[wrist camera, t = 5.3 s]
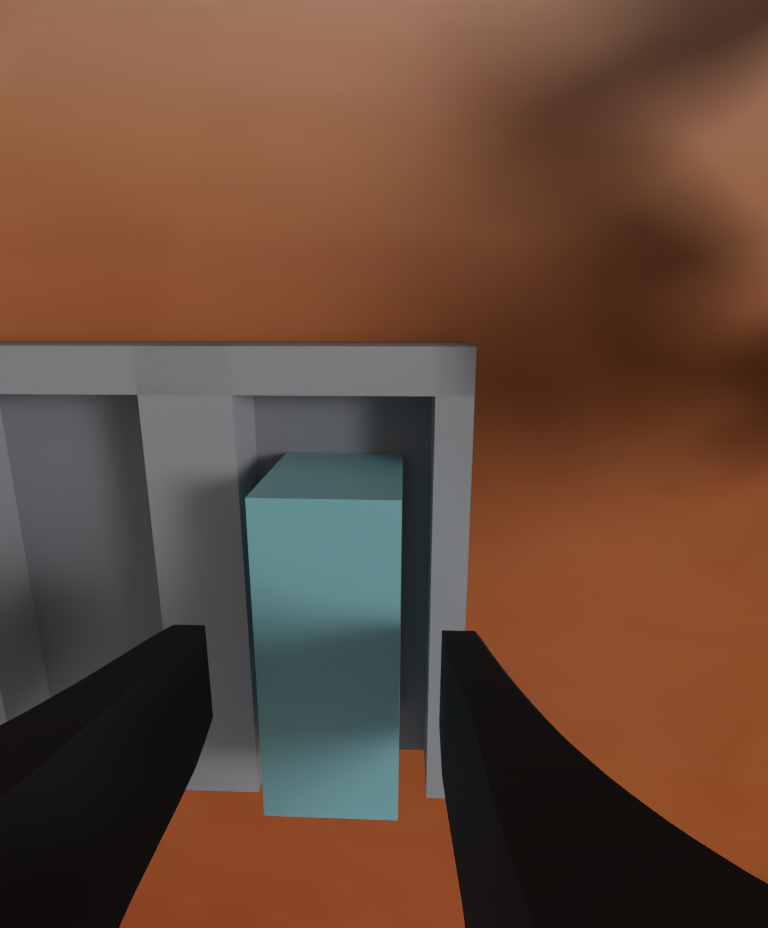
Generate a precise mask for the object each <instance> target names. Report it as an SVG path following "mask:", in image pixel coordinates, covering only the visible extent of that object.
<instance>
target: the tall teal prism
mask: <svg viewBox="0 0 768 928" xmlns="http://www.w3.org/2000/svg"><path fill="white" fill-rule="evenodd" d="M402 487H403V454H394V453H315V452H287V453H286V454H285V455H284V456H283V457H282V458H281V459H280V460H279V461H278V462H277V464H276V465H275V466H274V467H273V468H272V469H271V470H270V471H269V472H268V473H267V474H266V476H265V477H264V478H263V479H262V480H261V481H260V482H259V483H258V484H257V485H256V486H255V488H254V489H253V490H252V491H251V492H250V493H249V494H248V495H247V496H246V497H245V506H246V522H247V538H248V555H249V571H250V587H251V604H252V620H253V636H254V653H255V669H256V686H257V702H258V718H259V735H260V751H261V767H262V784H263V800H264V815H266V816H292V817H319V818H346V819H373V820H398V775H399V720H400V647H401V567H402Z"/></svg>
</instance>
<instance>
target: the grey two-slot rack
mask: <svg viewBox="0 0 768 928" xmlns="http://www.w3.org/2000/svg"><path fill="white" fill-rule="evenodd" d="M476 355H477V346H474V345H471V344H468V343H466V342H90V341H0V725H1V724H3V723H5V722H7V721H9V720H11V719H13V718H15V717H17V716H19V715H21V714H22V713H24V712H26V711H28V710H30V709H31V708H33V707H35V706H37V705H38V704H40V703H42V702H44V701H45V700H47V699H49V698H51V697H52V696H54V695H56V694H58V693H59V692H61V691H63V690H65V689H66V688H68V687H70V686H72V685H74V684H75V683H77V682H79V681H80V680H82V679H84V678H85V677H87V676H89V675H90V674H92V673H94V672H95V671H97V670H98V669H100V668H102V667H103V666H105V665H107V664H108V663H110V662H111V661H113V660H115V659H116V658H118V657H120V656H121V655H123V654H124V653H126V652H128V651H129V650H131V649H132V648H134V647H136V646H137V645H139V644H140V643H142V642H144V641H145V640H147V639H149V638H150V637H152V636H154V635H155V634H157V633H159V632H161V631H162V630H164V629H166V628H168V627H170V626H172V625H205V631H206V642H207V654H208V665H209V676H210V687H211V699H212V710H213V719H212V722H211V725H210V728H209V731H208V734H207V737H206V740H205V743H204V746H203V749H202V752H201V755H200V757H199V760H198V763H197V766H196V768H195V771H194V773H193V775H192V777H191V779H190V781H189V783H188V785H187V787H186V789H185V790H207V791H237V792H259V790H260V787H261V784H262V767H261V751H260V735H259V718H258V702H257V686H256V669H255V653H254V636H253V620H252V604H251V587H250V571H249V555H248V538H247V522H246V506H245V497H246V496H247V495H248V494H249V493H250V492H251V491H252V490H253V489H254V488H255V486H256V485H257V484H258V483H259V482H260V481H261V480H262V479H263V478H264V477H265V476H266V474H267V473H268V472H269V471H270V470H271V469H272V468H273V467H274V466H275V465H276V464H277V462H278V461H279V460H280V459H281V458H282V457H283V456H284V455H285V454H286V453H287V452H315V453H394V454H403V487H402V567H401V647H400V720H399V749H412V750H424V759H425V784H426V798H445V793H444V786H443V780H442V768H441V750H440V731H439V711H440V677H441V643H442V630H450V631H465V624H466V599H467V575H468V550H469V526H470V501H471V477H472V453H473V428H474V404H475V379H476Z"/></svg>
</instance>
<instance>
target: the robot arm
mask: <svg viewBox="0 0 768 928" xmlns="http://www.w3.org/2000/svg"><path fill="white" fill-rule="evenodd" d="M212 719H213V710H212V699H211V687H210V676H209V665H208V654H207V642H206V631H205V625H172V626H170V627H168V628H166V629H164V630H162V631H161V632H159V633H157V634H155V635H154V636H152V637H150V638H149V639H147V640H145V641H144V642H142V643H140V644H139V645H137V646H136V647H134V648H132V649H131V650H129V651H128V652H126V653H124V654H123V655H121V656H120V657H118V658H116V659H115V660H113V661H111V662H110V663H108V664H107V665H105V666H103V667H102V668H100V669H98V670H97V671H95V672H94V673H92V674H90V675H89V676H87V677H85V678H84V679H82V680H80V681H79V682H77V683H75V684H74V685H72V686H70V687H68V688H66V689H65V690H63V691H61V692H59V693H58V694H56V695H54V696H52V697H51V698H49V699H47V700H45V701H44V702H42V703H40V704H38V705H37V706H35V707H33V708H31V709H30V710H28V711H26V712H24V713H22V714H21V715H19V716H17V717H15V718H13V719H11V720H9V721H7V722H5V723H3V724H1V725H0V928H119V926H120V924H121V922H122V919H123V917H124V915H125V913H126V911H127V908H128V906H129V904H130V902H131V899H132V897H133V895H134V893H135V891H136V889H137V887H138V885H139V883H140V881H141V879H142V877H143V875H144V873H145V871H146V869H147V867H148V865H149V863H150V861H151V859H152V857H153V855H154V853H155V851H156V848H157V846H158V844H159V842H160V840H161V838H162V836H163V834H164V832H165V830H166V828H167V826H168V824H169V822H170V820H171V818H172V816H173V814H174V812H175V810H176V808H177V806H178V804H179V802H180V800H181V798H182V796H183V794H184V792H185V789H186V787H187V785H188V783H189V781H190V779H191V777H192V775H193V773H194V771H195V768H196V766H197V763H198V760H199V757H200V755H201V752H202V749H203V746H204V743H205V740H206V737H207V734H208V731H209V728H210V725H211V722H212ZM439 731H440V750H441V768H442V780H443V786H444V793H445V799H446V806H447V812H448V818H449V825H450V831H451V837H452V843H453V850H454V856H455V862H456V868H457V874H458V881H459V887H460V893H461V899H462V906H463V913H464V921H465V928H768V884H767V883H765V882H764V881H762V880H760V879H758V878H756V877H754V876H753V875H751V874H749V873H748V872H746V871H744V870H743V869H741V868H739V867H738V866H736V865H735V864H733V863H732V862H730V861H728V860H727V859H725V858H724V857H722V856H720V855H719V854H717V853H716V852H714V851H712V850H711V849H709V848H708V847H706V846H705V845H703V844H701V843H700V842H698V841H697V840H695V839H693V838H692V837H691V836H689V835H688V834H686V833H685V832H683V831H682V830H680V829H679V828H677V827H676V826H674V825H673V824H671V823H670V822H668V821H667V820H665V819H664V818H663V817H661V816H660V815H659V814H657V813H656V812H654V811H653V810H652V809H650V808H649V807H648V806H646V805H645V804H644V803H642V802H641V801H640V800H638V799H637V798H636V797H634V796H633V795H632V794H630V793H629V792H627V791H626V790H625V789H624V788H622V787H621V786H620V785H618V784H617V783H616V782H615V781H613V780H612V779H611V778H610V777H608V776H607V775H606V774H605V773H604V772H602V771H601V770H600V769H599V768H598V767H597V766H596V765H594V764H593V763H592V762H591V761H590V760H589V759H587V758H586V757H585V756H584V755H583V754H582V753H581V752H579V751H578V750H577V749H576V748H575V747H574V746H573V745H572V744H571V743H570V742H568V741H567V740H566V739H565V738H564V737H563V736H562V735H561V734H560V733H559V732H558V731H557V730H556V729H555V728H554V727H553V726H552V724H551V723H550V722H549V721H548V720H547V719H546V718H545V717H544V716H543V715H542V714H541V713H540V712H539V711H538V710H537V708H536V707H535V706H534V705H533V704H532V703H531V702H530V701H529V699H528V698H527V697H526V696H525V695H524V694H523V692H522V691H521V690H520V689H519V688H518V686H517V685H516V684H515V683H514V682H513V681H512V679H511V678H510V677H509V676H508V674H507V673H506V672H505V671H504V669H503V668H502V667H501V665H500V664H499V663H498V661H497V660H496V659H495V657H494V656H493V655H492V653H491V652H490V651H489V649H488V648H487V646H486V645H485V643H484V642H483V641H482V639H481V638H480V636H479V635H478V634H477V633H476V632H475V631H450V630H442V643H441V677H440V711H439Z"/></svg>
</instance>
